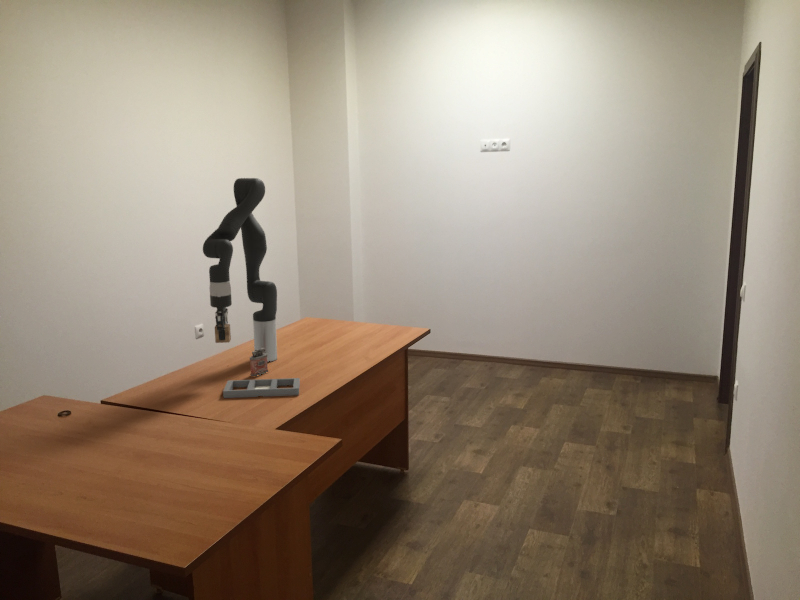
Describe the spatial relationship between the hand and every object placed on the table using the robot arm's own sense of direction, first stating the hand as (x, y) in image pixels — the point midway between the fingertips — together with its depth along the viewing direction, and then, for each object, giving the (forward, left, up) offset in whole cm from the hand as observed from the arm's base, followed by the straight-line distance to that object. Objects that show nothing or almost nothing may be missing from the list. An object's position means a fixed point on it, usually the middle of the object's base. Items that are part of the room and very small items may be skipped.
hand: (223, 338), depth 238 cm
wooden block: (0, 0, -1) cm, 1 cm away
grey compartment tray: (+13, +15, -17) cm, 26 cm away
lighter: (-7, +12, -17) cm, 22 cm away
